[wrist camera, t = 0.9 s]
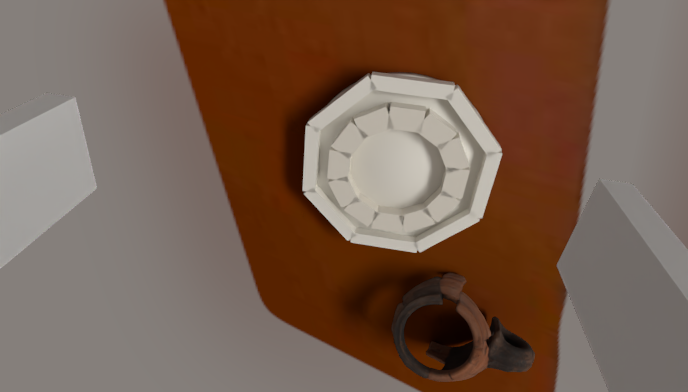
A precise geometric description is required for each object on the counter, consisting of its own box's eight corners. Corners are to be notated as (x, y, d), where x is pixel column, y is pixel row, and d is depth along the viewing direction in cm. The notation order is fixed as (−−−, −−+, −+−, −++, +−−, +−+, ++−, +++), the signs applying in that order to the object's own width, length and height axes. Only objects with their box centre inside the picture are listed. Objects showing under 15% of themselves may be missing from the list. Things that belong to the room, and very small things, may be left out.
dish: (313, 59, 31) (308, 67, 29) (515, 86, 30) (521, 95, 28) (304, 222, 38) (299, 235, 36) (466, 247, 37) (468, 262, 35)
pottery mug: (402, 344, 45) (377, 379, 37) (413, 255, 44) (390, 271, 36) (527, 378, 40) (528, 425, 33) (542, 279, 40) (547, 304, 32)
